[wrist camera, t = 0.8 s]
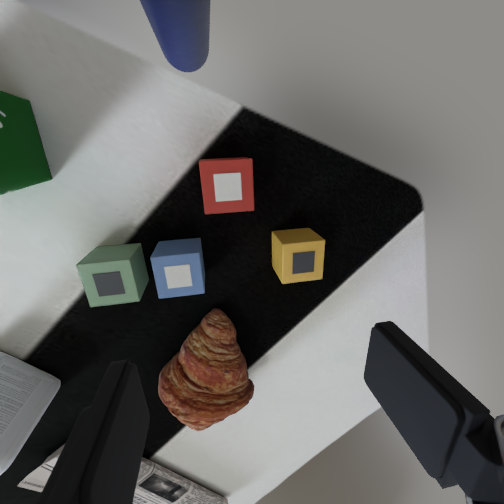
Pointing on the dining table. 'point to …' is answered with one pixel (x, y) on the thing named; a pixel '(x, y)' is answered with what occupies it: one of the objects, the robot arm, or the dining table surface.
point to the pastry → (206, 375)
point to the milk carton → (20, 146)
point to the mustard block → (297, 255)
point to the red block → (227, 184)
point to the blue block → (178, 268)
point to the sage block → (114, 274)
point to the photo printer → (21, 404)
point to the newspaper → (141, 484)
